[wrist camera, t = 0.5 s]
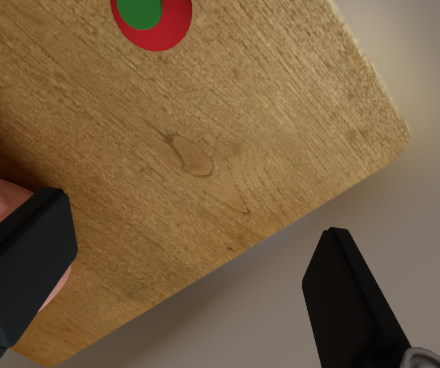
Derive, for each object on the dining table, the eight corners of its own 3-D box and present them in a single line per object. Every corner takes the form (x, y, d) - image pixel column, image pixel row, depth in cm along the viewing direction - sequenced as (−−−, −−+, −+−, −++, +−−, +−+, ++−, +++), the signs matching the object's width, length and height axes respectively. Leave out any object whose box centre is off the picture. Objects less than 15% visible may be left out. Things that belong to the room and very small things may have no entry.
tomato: (121, -36, 18) (82, -57, 14) (196, -35, 18) (181, -55, 13) (132, 47, 21) (101, 53, 16) (197, 49, 21) (185, 56, 16)
